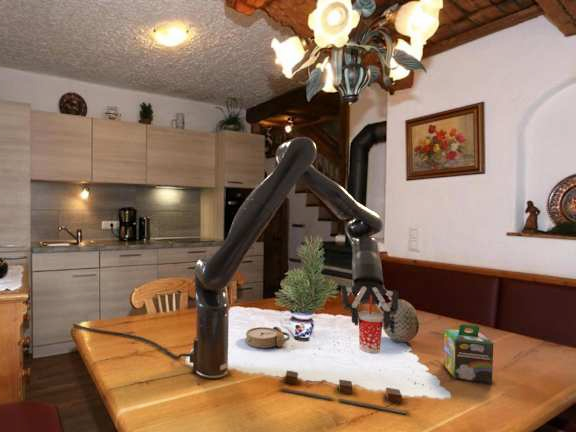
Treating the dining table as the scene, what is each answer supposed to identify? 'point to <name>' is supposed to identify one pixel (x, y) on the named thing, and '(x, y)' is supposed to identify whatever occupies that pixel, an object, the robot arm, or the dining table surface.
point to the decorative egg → (403, 322)
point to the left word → (293, 378)
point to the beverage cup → (370, 330)
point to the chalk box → (468, 354)
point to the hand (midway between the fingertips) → (371, 325)
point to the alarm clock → (266, 337)
